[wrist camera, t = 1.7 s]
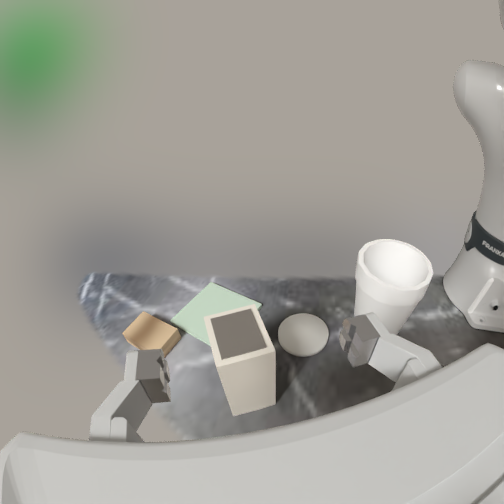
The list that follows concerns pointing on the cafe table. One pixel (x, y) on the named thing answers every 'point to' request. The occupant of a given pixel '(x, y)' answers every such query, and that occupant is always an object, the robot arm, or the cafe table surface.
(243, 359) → the canister
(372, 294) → the foam cup
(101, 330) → the cafe table surface
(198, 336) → the mat
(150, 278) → the cafe table surface
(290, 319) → the white pebble stone
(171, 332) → the oak block
